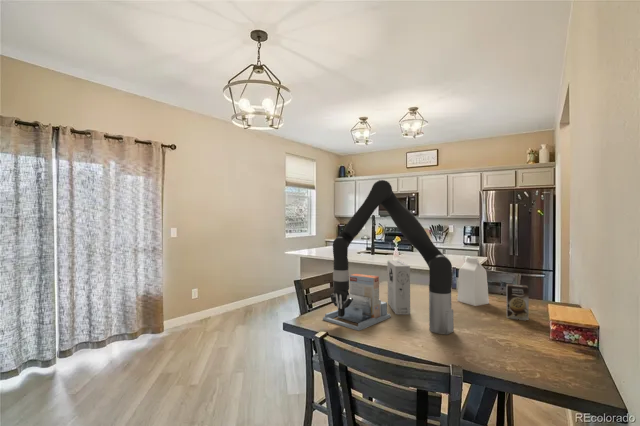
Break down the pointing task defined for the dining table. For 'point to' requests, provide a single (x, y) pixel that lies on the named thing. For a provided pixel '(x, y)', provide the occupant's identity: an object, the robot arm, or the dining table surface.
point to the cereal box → (399, 286)
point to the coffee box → (517, 302)
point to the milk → (472, 283)
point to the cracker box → (366, 290)
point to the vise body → (364, 324)
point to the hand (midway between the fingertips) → (341, 316)
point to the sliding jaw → (358, 309)
